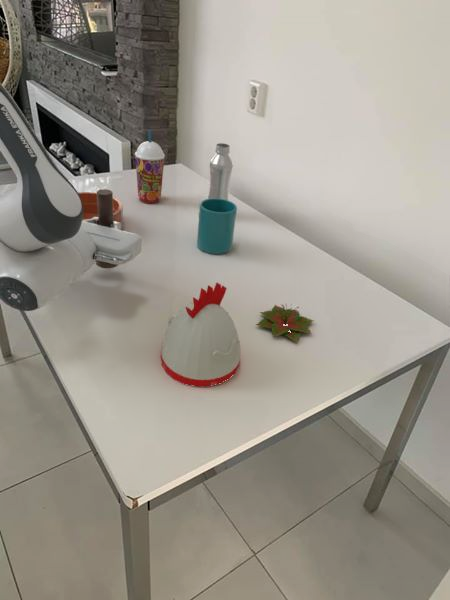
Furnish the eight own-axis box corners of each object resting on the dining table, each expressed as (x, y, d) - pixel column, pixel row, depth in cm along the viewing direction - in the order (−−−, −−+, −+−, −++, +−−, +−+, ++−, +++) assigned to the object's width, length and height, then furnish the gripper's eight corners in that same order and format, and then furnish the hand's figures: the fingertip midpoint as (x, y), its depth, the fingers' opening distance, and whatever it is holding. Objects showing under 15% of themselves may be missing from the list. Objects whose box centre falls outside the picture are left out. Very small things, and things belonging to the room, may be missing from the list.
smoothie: (139, 206, 131) (139, 136, 120) (132, 195, 137) (131, 127, 126) (167, 204, 134) (169, 135, 123) (158, 194, 140) (160, 127, 129)
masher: (93, 267, 95) (89, 195, 86) (98, 256, 99) (94, 186, 90) (117, 269, 96) (115, 197, 87) (121, 257, 100) (119, 188, 91)
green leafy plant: (271, 301, 97) (274, 283, 95) (323, 322, 93) (328, 304, 90) (244, 328, 88) (247, 309, 86) (300, 353, 84) (305, 333, 81)
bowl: (43, 240, 109) (40, 217, 106) (61, 210, 124) (59, 189, 120) (117, 245, 111) (116, 222, 107) (126, 215, 125) (126, 194, 122)
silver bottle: (225, 210, 135) (232, 142, 124) (229, 219, 130) (237, 149, 119) (204, 209, 134) (209, 141, 123) (207, 219, 129) (213, 148, 117)
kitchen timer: (255, 362, 80) (268, 293, 72) (198, 400, 72) (205, 325, 63) (202, 324, 88) (208, 257, 79) (144, 354, 79) (144, 282, 71)
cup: (212, 231, 122) (216, 191, 116) (239, 250, 115) (244, 209, 108) (184, 237, 118) (186, 196, 111) (209, 258, 110) (213, 215, 104)
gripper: (123, 249, 78) (155, 219, 90) (19, 223, 82) (63, 198, 93) (123, 279, 82) (154, 247, 93) (24, 254, 85) (65, 226, 97)
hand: (108, 222), depth 93 cm, fingers closed on masher, 3 cm apart
